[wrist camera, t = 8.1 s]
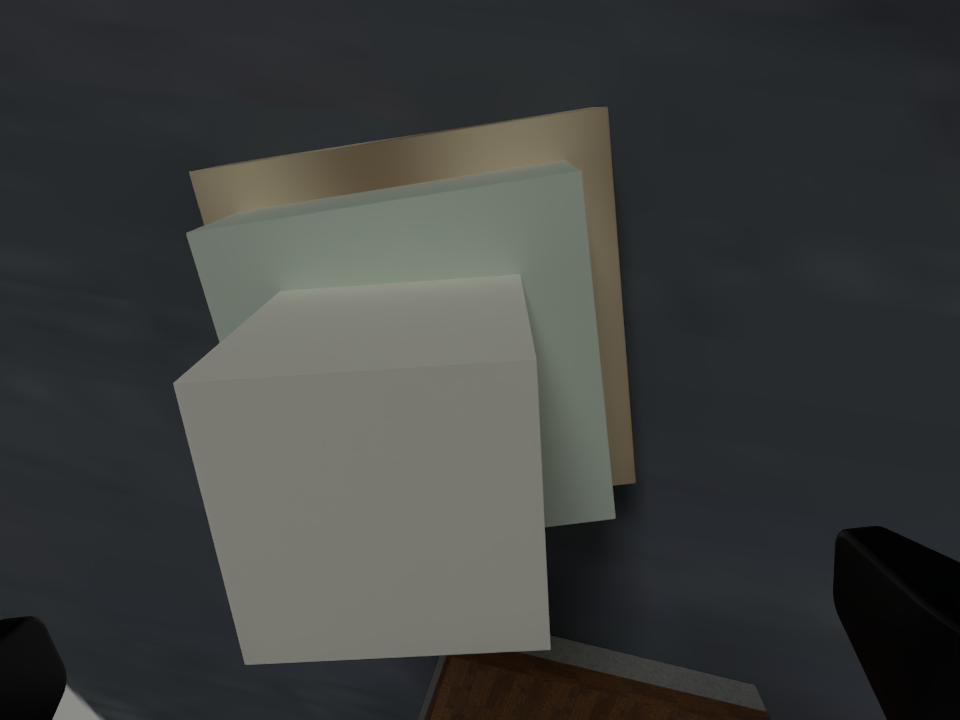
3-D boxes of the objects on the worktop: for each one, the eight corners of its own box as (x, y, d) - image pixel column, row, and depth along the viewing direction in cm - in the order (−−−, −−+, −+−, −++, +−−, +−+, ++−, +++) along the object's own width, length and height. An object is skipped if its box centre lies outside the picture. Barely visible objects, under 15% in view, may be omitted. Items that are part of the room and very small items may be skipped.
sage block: (565, 159, 16) (581, 170, 13) (596, 456, 18) (615, 518, 16) (238, 212, 16) (185, 233, 13) (316, 493, 19) (286, 559, 16)
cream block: (520, 274, 14) (536, 359, 9) (531, 485, 15) (550, 649, 11) (279, 291, 14) (173, 383, 9) (318, 498, 16) (244, 664, 11)
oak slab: (589, 107, 18) (607, 107, 15) (616, 434, 22) (635, 482, 19) (234, 162, 19) (189, 171, 16) (315, 471, 22) (290, 523, 19)
